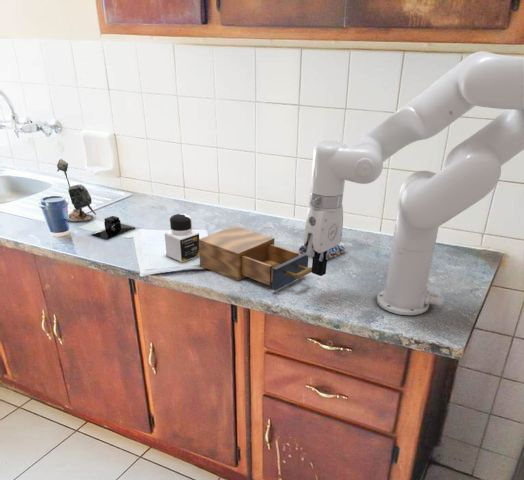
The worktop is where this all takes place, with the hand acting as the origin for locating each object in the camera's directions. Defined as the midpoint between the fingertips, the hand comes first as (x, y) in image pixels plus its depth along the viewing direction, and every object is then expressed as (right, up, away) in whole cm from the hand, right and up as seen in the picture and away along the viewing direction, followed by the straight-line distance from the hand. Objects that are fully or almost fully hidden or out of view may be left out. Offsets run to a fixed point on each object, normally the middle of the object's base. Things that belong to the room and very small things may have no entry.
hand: (318, 273), depth 127 cm
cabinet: (-21, +5, +19) cm, 28 cm away
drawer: (-10, 0, +10) cm, 14 cm away
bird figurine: (-76, +26, +49) cm, 94 cm away
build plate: (-62, +19, +39) cm, 76 cm away
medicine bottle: (-37, +8, +23) cm, 45 cm away
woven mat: (+4, +10, +27) cm, 29 cm away
